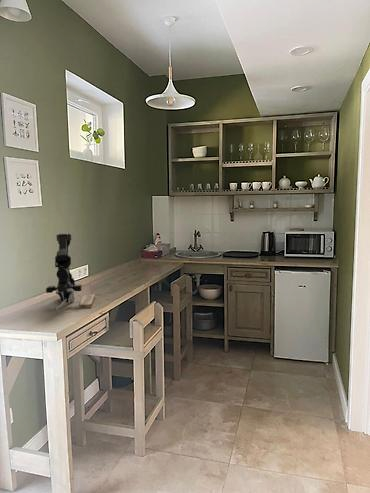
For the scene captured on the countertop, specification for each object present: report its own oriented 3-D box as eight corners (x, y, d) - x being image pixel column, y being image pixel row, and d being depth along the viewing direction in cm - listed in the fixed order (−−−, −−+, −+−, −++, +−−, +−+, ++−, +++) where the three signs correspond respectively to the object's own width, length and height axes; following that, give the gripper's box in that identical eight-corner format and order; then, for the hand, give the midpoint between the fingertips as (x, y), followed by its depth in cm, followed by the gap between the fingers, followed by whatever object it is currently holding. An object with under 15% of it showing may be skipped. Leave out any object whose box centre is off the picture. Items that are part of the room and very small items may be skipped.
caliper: (72, 301, 225) (72, 291, 225) (74, 301, 225) (73, 291, 224) (55, 310, 205) (54, 299, 205) (57, 310, 205) (56, 299, 204)
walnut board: (78, 308, 208) (78, 304, 207) (84, 298, 231) (83, 294, 231) (91, 307, 209) (91, 303, 208) (95, 297, 232) (94, 294, 232)
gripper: (43, 279, 204) (44, 308, 206) (79, 277, 207) (80, 306, 209) (47, 276, 215) (49, 303, 217) (81, 274, 218) (83, 301, 220)
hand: (65, 303), depth 215 cm, fingers closed on caliper, 2 cm apart
